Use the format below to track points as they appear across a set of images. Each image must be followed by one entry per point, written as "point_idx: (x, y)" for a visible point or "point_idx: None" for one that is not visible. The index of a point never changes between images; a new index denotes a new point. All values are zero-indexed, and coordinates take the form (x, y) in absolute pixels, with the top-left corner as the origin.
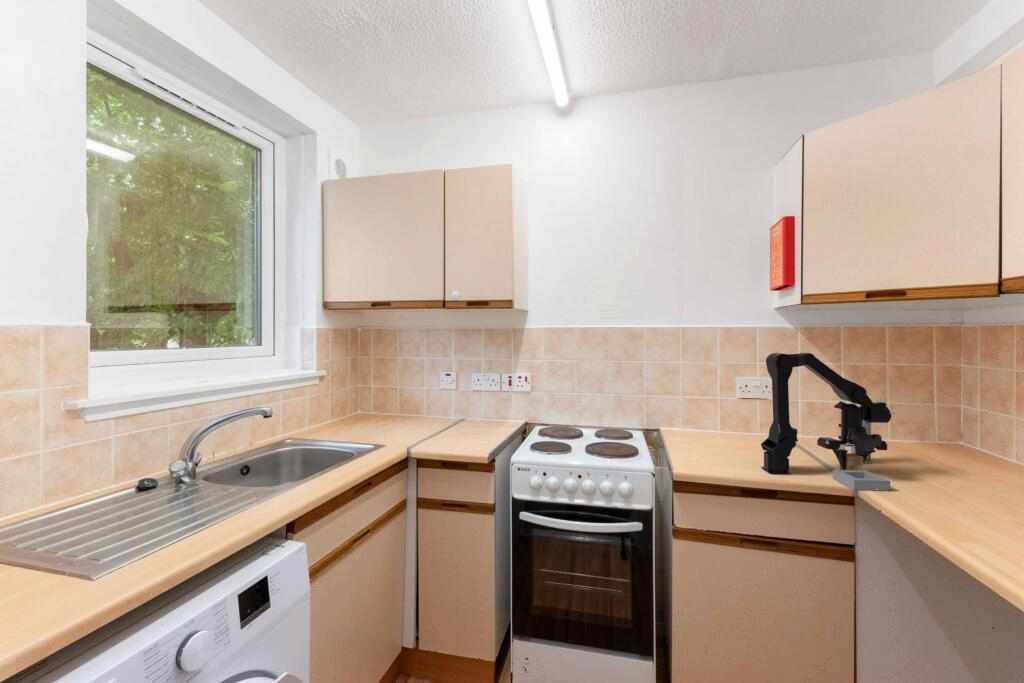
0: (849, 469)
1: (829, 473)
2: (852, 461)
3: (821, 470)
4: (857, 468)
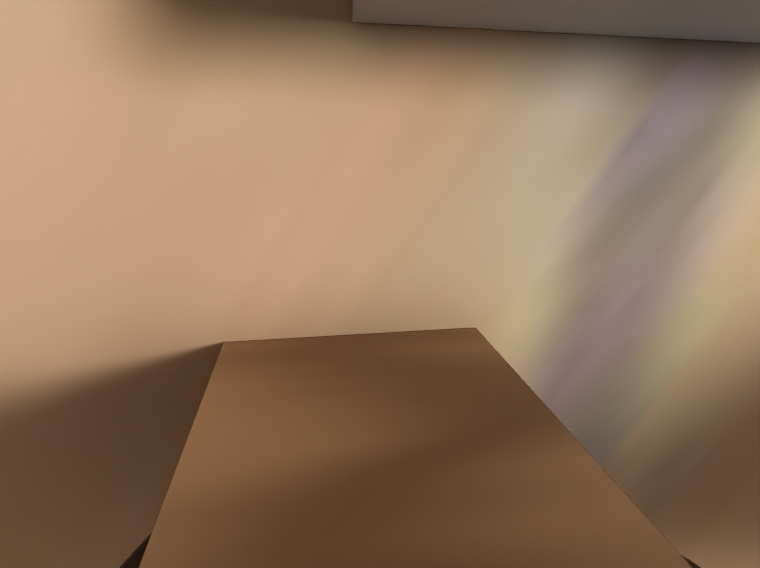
0: (510, 377)
1: (703, 374)
2: (542, 547)
3: (697, 492)
4: (338, 408)
